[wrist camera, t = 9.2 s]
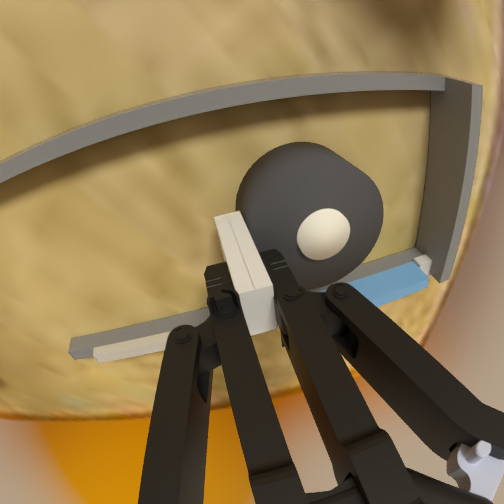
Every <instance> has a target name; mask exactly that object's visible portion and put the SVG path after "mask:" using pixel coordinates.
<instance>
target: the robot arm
mask: <svg viewBox="0 0 504 504" xmlns="http://www.w3.org/2000/svg"><path fill="white" fill-rule="evenodd" d="M214 219H215V223H216V228H217V232H218V236H219V241H220V245H221V249H222V254H223V258H224V261H225V262H223V263H219V264H215V265H211V266H207V268H206V270H205V273H204V276H205V281H206V287H207V292H208V298H207V305H208V308H209V311H210V315H209V317H208V319H207V320H206V321H205V322H203V323H202V324H200V325H198V326H196V327H193V326H192V325H180V326H178V327H176V328H174V329H173V330H172V331H171V332H170V333H169V335H168V338H167V342H166V347H165V351H164V356H163V360H162V365H161V370H160V375H159V380H158V385H157V390H156V395H155V400H154V405H153V411H152V416H151V422H150V428H149V433H148V439H147V445H146V451H145V457H144V464H143V470H142V477H141V484H140V491H139V499H138V504H203V498H204V482H205V466H206V453H207V439H208V426H209V414H210V402H211V390H212V379H213V369H214V368H216V367H218V366H220V365H221V364H222V368H223V373H224V377H225V381H226V386H227V390H228V394H229V398H230V402H231V407H232V411H233V415H234V419H235V423H236V427H237V431H238V435H239V438H240V442H241V446H242V450H243V454H244V457H245V461H246V465H247V468H248V473H249V481H250V485H251V488H252V492H253V496H254V499H255V503H256V504H493V503H492V502H491V501H492V499H493V497H494V495H495V493H496V490H497V488H498V486H499V484H500V481H501V479H502V477H503V474H504V413H503V412H501V411H498V410H496V409H494V408H492V407H490V406H487V405H485V404H483V403H482V402H481V401H479V400H478V399H477V398H476V397H475V396H474V395H473V394H472V393H471V392H470V391H469V390H468V389H467V388H466V387H465V386H464V385H463V384H462V383H460V382H459V381H458V380H457V379H456V378H455V377H454V376H453V375H452V374H451V373H450V372H449V371H448V370H446V369H445V368H444V367H443V366H442V365H441V364H440V363H439V362H438V361H437V360H436V359H435V358H434V357H432V356H431V355H430V354H429V353H428V352H427V351H426V350H425V349H424V348H423V347H421V346H420V345H419V344H418V343H417V342H416V341H415V340H414V339H413V338H411V337H410V336H409V335H408V334H407V333H406V332H405V331H404V330H402V329H401V328H400V327H399V326H398V325H397V324H396V323H395V322H393V321H392V320H391V319H390V318H389V317H388V316H387V315H385V314H384V313H383V312H382V311H381V310H380V309H379V308H377V307H376V306H375V305H374V304H373V303H372V302H370V301H369V300H368V299H367V298H366V297H365V296H363V295H362V294H361V293H360V292H359V291H358V290H356V289H355V288H354V287H353V286H351V285H350V284H348V283H344V282H337V283H334V284H331V285H330V286H329V287H328V288H327V290H326V292H310V291H307V290H305V289H304V287H302V286H300V285H299V284H298V282H297V281H296V279H295V277H294V275H293V273H292V271H291V270H290V268H289V266H288V264H287V262H286V261H285V259H284V257H283V255H282V253H280V252H279V251H277V250H276V249H271V250H267V251H263V252H259V253H258V251H257V249H256V246H255V244H254V242H253V240H252V237H251V235H250V233H249V231H248V228H247V226H246V224H245V222H244V220H243V217H242V215H241V213H240V211H237V212H233V213H228V214H224V215H220V216H216V217H214ZM277 323H278V324H277ZM278 325H279V328H280V331H281V340H282V347H285V348H286V350H287V353H288V355H289V358H290V360H291V363H292V365H293V368H294V370H295V373H296V375H297V378H298V380H299V383H300V385H301V388H302V390H303V393H304V395H305V398H306V400H307V403H308V405H309V408H310V410H311V412H312V415H313V417H314V420H315V423H316V425H317V427H318V430H319V432H320V435H321V437H322V440H323V442H324V445H325V447H326V450H327V452H328V455H329V457H330V460H331V462H332V465H333V471H334V475H335V478H336V480H337V483H338V486H337V487H335V488H334V489H333V490H330V491H325V492H315V493H305V492H304V489H303V486H302V484H301V481H300V478H299V475H298V473H297V470H296V467H295V465H294V463H293V461H292V458H291V456H290V453H289V450H288V447H287V444H286V441H285V438H284V435H283V432H282V430H281V427H280V424H279V421H278V418H277V415H276V412H275V409H274V406H273V403H272V400H271V397H270V394H269V391H268V388H267V385H266V382H265V379H264V376H263V373H262V369H261V366H260V363H259V360H258V357H257V354H256V351H255V348H254V345H253V342H252V338H251V336H252V335H256V334H260V333H263V332H267V331H270V330H274V329H278ZM340 353H341V354H342V355H343V356H344V358H345V359H346V360H347V361H348V362H349V363H350V364H351V365H352V366H353V367H354V368H355V369H356V370H357V372H358V373H359V374H360V375H361V376H362V377H363V378H364V379H365V380H366V381H367V382H368V383H369V384H370V385H371V387H372V388H373V389H374V390H375V391H376V392H377V393H378V394H379V395H380V396H381V397H382V398H383V399H384V400H385V402H386V403H387V404H388V405H389V406H390V407H391V408H392V409H393V410H394V411H395V412H396V413H397V414H398V416H399V417H400V418H401V419H402V420H403V421H404V422H405V423H406V424H407V425H408V426H409V427H410V428H411V429H412V431H413V432H414V433H415V434H416V435H417V436H418V437H419V438H420V439H421V440H422V441H423V442H424V443H425V444H426V445H427V446H428V447H429V448H430V449H431V450H432V451H433V452H434V453H436V454H437V455H438V456H440V457H441V458H443V459H445V460H446V461H447V473H448V475H449V476H451V477H452V478H453V479H454V480H456V482H457V484H458V487H459V488H457V487H454V486H451V485H449V484H446V483H444V482H441V481H439V480H436V479H434V478H431V477H429V476H426V475H424V474H422V473H419V472H417V471H414V470H412V469H410V468H406V467H405V465H404V463H403V461H402V459H401V457H400V455H399V453H398V451H397V449H396V447H395V445H394V443H393V441H392V439H391V438H390V436H389V434H388V433H387V432H386V431H385V430H383V429H380V428H379V427H378V425H377V423H376V422H375V419H374V418H373V416H372V414H371V412H370V410H369V408H368V406H367V404H366V402H365V400H364V398H363V396H362V394H361V392H360V390H359V388H358V386H357V384H356V382H355V381H354V379H353V377H352V375H351V373H350V371H349V369H348V367H347V365H346V363H345V361H344V359H343V358H342V356H341V354H340Z"/></svg>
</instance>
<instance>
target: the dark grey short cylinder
mask: <svg viewBox="0 0 504 504" xmlns="http://www.w3.org/2000/svg"><path fill="white" fill-rule="evenodd" d="M237 211H240V213H241V215H242V217H243V220H244V222H245V224H246V226H247V228H248V231H249V233H250V235H251V237H252V240H253V242H254V244H255V246H256V249H257V251H258V253H259V252H263V251H267V250H271V249H276V250H277V251H279V252H280V253H282V255H283V257H284V259H285V261H286V262H287V264H288V266H289V268H290V270H291V271H292V273H293V275H294V277H295V279H296V281H297V282H298V284H299V285H300V286H302V287H304V289H305V290H310V289H316V288H320V287H324V286H327V285H329V284H332V283H334V282H336V281H338V280H340V279H342V278H343V277H345V276H346V275H348V274H349V273H351V272H352V271H353V270H354V269H355V268H357V267H358V266H359V265H360V264H361V263H362V262H363V261H364V259H365V258H366V257H367V256H368V254H369V253H370V252H371V250H372V248H373V247H374V245H375V243H376V241H377V239H378V237H379V234H380V231H381V227H382V223H383V202H382V198H381V195H380V192H379V190H378V188H377V186H376V185H375V183H374V182H373V181H372V180H371V178H370V177H369V176H367V175H366V174H365V173H364V172H362V171H361V170H359V169H358V168H357V167H355V166H354V165H352V164H351V163H349V162H348V161H346V160H345V159H343V158H342V157H341V156H339V155H338V154H336V153H335V152H333V151H332V150H330V149H328V148H326V147H324V146H322V145H319V144H316V143H310V142H294V143H289V144H285V145H282V146H279V147H277V148H274V149H273V150H271V151H269V152H267V153H266V154H265V155H263V156H262V157H260V158H259V159H258V160H257V161H256V162H255V163H254V164H253V165H252V166H251V168H250V169H249V170H248V171H247V173H246V175H245V176H244V178H243V180H242V182H241V184H240V187H239V190H238V193H237V199H236V212H237Z"/></svg>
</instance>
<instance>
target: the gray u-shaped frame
mask: <svg viewBox="0 0 504 504" xmlns="http://www.w3.org/2000/svg"><path fill="white" fill-rule="evenodd" d="M372 90H431V113H430V135H429V150H428V162H427V172H426V181H425V189H424V197H423V204H422V211H421V218H420V224H419V230H418V236H417V241H416V246H415V248H412V249H408V250H405V251H402V252H399V253H396V254H393V255H390V256H387V257H383V258H380V259H377V260H374V261H371V262H367V263H364V264H361V265H359V266H358V267H357V268H355V269H354V270H353V271H352V272H351V273H349V274H348V275H346V276H345V277H343V278H342V279H340V280H338V281H336V282H334V283H337V282H344V283H348V284H350V285H351V286H353V287H354V288H355V289H356V290H358V291H359V292H360V293H361V294H362V295H363V296H365V297H366V298H367V299H368V300H369V301H370V302H372V303H373V304H374V305H375V306H376V307H378V306H381V305H384V304H386V303H389V302H392V301H394V300H397V299H399V298H402V297H405V296H407V295H410V294H412V293H415V292H417V291H420V290H422V289H424V288H427V285H428V281H429V278H428V277H427V276H428V275H430V274H431V275H432V276H433V277H434V278H435V279H436V280H437V281H438V282H439V283H441V282H444V281H446V280H448V279H449V278H450V275H451V271H452V268H453V265H454V261H455V258H456V254H457V251H458V247H459V243H460V240H461V236H462V232H463V228H464V224H465V219H466V215H467V210H468V206H469V201H470V196H471V191H472V185H473V179H474V173H475V167H476V160H477V153H478V145H479V136H480V125H481V112H482V92H483V86H482V85H479V84H476V83H472V82H469V81H465V80H461V79H458V78H454V77H450V76H446V75H441V74H428V73H412V72H337V73H320V74H307V75H296V76H286V77H278V78H270V79H262V80H255V81H249V82H242V83H236V84H231V85H225V86H220V87H215V88H210V89H205V90H200V91H195V92H191V93H187V94H182V95H178V96H174V97H170V98H166V99H162V100H159V101H155V102H151V103H148V104H144V105H141V106H137V107H134V108H131V109H127V110H124V111H121V112H118V113H115V114H112V115H109V116H106V117H103V118H100V119H97V120H95V121H92V122H89V123H86V124H84V125H81V126H78V127H76V128H73V129H71V130H68V131H66V132H63V133H61V134H58V135H56V136H54V137H51V138H49V139H47V140H44V141H42V142H40V143H38V144H35V145H33V146H31V147H29V148H27V149H25V150H23V151H20V152H18V153H16V154H14V155H12V156H10V157H8V158H6V159H4V160H3V161H1V162H0V183H2V182H4V181H6V180H8V179H10V178H12V177H14V176H16V175H18V174H20V173H23V172H25V171H27V170H29V169H31V168H34V167H36V166H38V165H41V164H43V163H45V162H48V161H50V160H53V159H55V158H57V157H60V156H62V155H65V154H68V153H70V152H73V151H75V150H78V149H81V148H83V147H86V146H89V145H92V144H94V143H97V142H100V141H103V140H106V139H109V138H112V137H115V136H118V135H121V134H125V133H128V132H131V131H134V130H138V129H141V128H144V127H148V126H151V125H155V124H159V123H162V122H166V121H170V120H174V119H178V118H182V117H186V116H190V115H194V114H199V113H203V112H208V111H212V110H217V109H222V108H227V107H232V106H238V105H243V104H249V103H255V102H261V101H267V100H274V99H281V98H289V97H297V96H305V95H315V94H325V93H337V92H352V91H372ZM334 283H332V284H334ZM330 285H331V284H329V285H327V286H324V287H320V288H316V289H310V290H307V291H310V292H326V290H327V288H328V287H329V286H330ZM209 315H210V311H209V308H208V307H207V308H203V309H199V310H195V311H191V312H187V313H183V314H179V315H174V316H170V317H166V318H162V319H158V320H153V321H149V322H145V323H140V324H136V325H132V326H127V327H123V328H118V329H114V330H109V331H105V332H100V333H95V334H90V335H86V336H81V337H76V338H71V341H70V346H69V351H68V353H69V354H70V355H71V356H72V358H73V359H74V360H77V359H82V358H88V357H94V358H95V359H96V360H97V362H98V363H103V362H109V361H114V360H119V359H125V358H130V357H135V356H140V355H144V354H149V353H154V352H159V351H163V350H165V347H166V342H167V338H168V335H169V333H170V332H171V331H172V330H173V329H174V328H176V327H178V326H180V325H192V326H193V327H196V326H198V325H200V324H202V323H203V322H205V321H206V320H207V319H208V317H209Z"/></svg>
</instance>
